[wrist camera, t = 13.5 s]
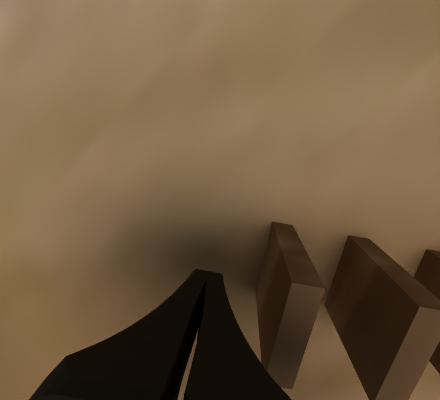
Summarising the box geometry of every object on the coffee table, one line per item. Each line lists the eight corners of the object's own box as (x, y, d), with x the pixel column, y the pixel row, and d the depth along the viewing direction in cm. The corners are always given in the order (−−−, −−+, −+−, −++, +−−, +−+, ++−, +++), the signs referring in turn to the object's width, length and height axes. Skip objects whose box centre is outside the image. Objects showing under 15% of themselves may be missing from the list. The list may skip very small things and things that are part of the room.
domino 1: (292, 225, 14) (325, 289, 9) (274, 295, 16) (291, 389, 10) (272, 221, 14) (292, 282, 9) (255, 291, 16) (263, 383, 10)
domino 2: (368, 238, 14) (454, 312, 9) (343, 308, 16) (401, 411, 10) (348, 235, 14) (419, 306, 9) (324, 305, 16) (372, 405, 10)
